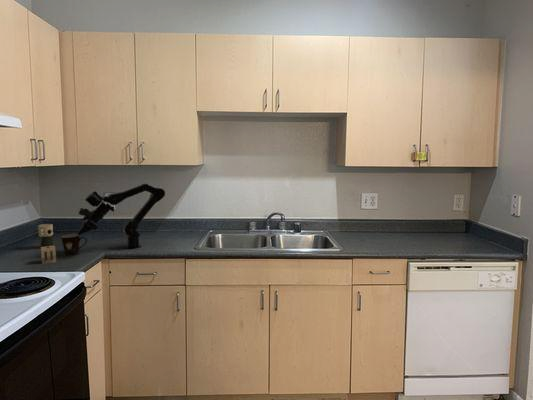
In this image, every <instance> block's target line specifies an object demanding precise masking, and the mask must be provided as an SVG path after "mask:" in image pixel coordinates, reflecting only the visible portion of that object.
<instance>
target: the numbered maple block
mask: <svg viewBox="0 0 533 400" xmlns="http://www.w3.org/2000/svg"><path fill="white" fill-rule="evenodd" d="M40 254H41V263H42V264H43V265H44V264H50V262H51V263H56V262H57V254H56V245H52V246H47V247H41V246H40Z"/></svg>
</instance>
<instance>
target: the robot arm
mask: <svg viewBox="0 0 533 400" xmlns="http://www.w3.org/2000/svg"><path fill="white" fill-rule="evenodd" d="M145 191H146V192H148V193H150V195H149V198H148V200H147V201H146V202H145V203H144V205H143V206H141V208H140V209H139V211H138V212H137V213H136V214H135V216H133V218H132V219H128V218H127V220H126V221H125V222H124V223H123V224H122V225H123V226H122V231H123V233H125V235H126V236H127V240H126V241H127V245H126V246H125V248H127V249H131V250H133V249H137V248H138V249H139V248H141V247H142V245H140V241H139V240H140V239H139V237H140V235H141V234H140V233H139V232H138V231H137V230H138V227H139V224H140V222H141V221H142V220H143V219H144V218H145V217H146V215H147V214H148V213H149V212H150V211H151V209H152V208H153V207H154V206H155V204H156V203H158V202H159V201H161V200H162V199H163V198H164V197H165V196H166V191H165V190H164V189H163V188H160V187H154V186H153V185H149V184H148V183H142V184H140V185H137V186H134V187H132V188H130V189H126V190H124V191H120V192H115V193H109V194H108V195H107V196H101V195H100V194H99V193H98V192H96V191H95V190H94V191H93V192H91V193H90V194H88V195H87V196H86V198H85V199H84V201H85V202H87V204H89V205H90V206H92V207H96V208H95V209H93V210H92V211H90V210H89V208H88V209H87V208H83V207H81V208H80V209H79V211H78V215H80V216H82V219H83V220H82V226H80V229H79V231H78V232H77V234H78V235H79V236H80V235H82V234H85V233H87V232H89V231H92V230H94V231H96V230H97V229H98V228H99V226H98V223H99V222H100V221H101V220H103V219H104V217H105V216H106V215H107V214H108V213H109V212H110V211H111V212H113V213H114V212H115V206H116V205H118V204H120V203H122V202H123V201H124V200H126V199H127V198H131V197H132V196H136V195H138V194H141V193H143V192H145Z"/></svg>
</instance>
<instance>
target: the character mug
mask: <svg viewBox="0 0 533 400" xmlns="http://www.w3.org/2000/svg"><path fill="white" fill-rule="evenodd" d="M37 228H38V236H39V237H40V238H41V239H40V248H41V247H47V246H54V241H53V238H52V236H53V235H54V232H53V230H54V227H53V224H52V223H44V224H43V223H42V224H39V225H37Z"/></svg>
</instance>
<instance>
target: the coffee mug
mask: <svg viewBox="0 0 533 400" xmlns="http://www.w3.org/2000/svg"><path fill="white" fill-rule="evenodd" d="M60 239H61V241H62V246H63V250H64V253H65V254H64V255H65V256H66V255H72V256H77V255H79V254H80V253H79V252H80V249H81V248H83V247H84V246H85V245H86V244H87V243H88V239H87V238H86V237H84V236H82V237H80V235H78V233H70V234H65V235H64V234H63V235H61V236H60ZM81 239H85V243H84V244H82V245H81V246H80V241H81ZM76 254H77V255H76Z"/></svg>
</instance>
